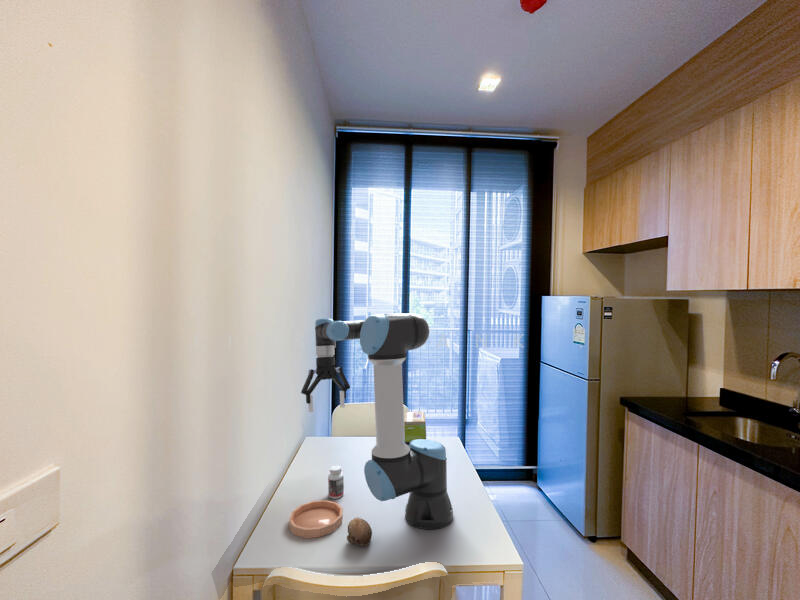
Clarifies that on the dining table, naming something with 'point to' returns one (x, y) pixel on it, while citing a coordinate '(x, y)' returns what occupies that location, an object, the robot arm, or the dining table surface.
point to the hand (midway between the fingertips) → (327, 409)
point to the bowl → (316, 519)
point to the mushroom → (359, 532)
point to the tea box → (414, 426)
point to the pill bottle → (335, 482)
